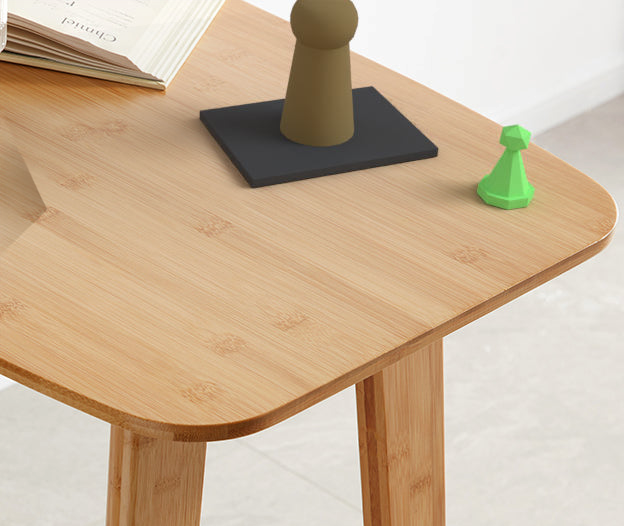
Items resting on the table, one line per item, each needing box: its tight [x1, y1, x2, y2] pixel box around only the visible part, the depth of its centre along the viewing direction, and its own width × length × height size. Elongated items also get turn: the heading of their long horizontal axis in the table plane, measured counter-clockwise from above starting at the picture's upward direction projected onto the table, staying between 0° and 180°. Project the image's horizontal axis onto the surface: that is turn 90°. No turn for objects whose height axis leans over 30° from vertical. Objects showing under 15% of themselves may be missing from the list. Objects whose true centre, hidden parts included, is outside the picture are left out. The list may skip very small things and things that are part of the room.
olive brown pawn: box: [280, 0, 359, 147], centre depth 89 cm, size 6×6×11 cm
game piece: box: [476, 124, 536, 211], centre depth 85 cm, size 4×4×6 cm
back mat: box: [199, 85, 439, 189], centre depth 92 cm, size 16×12×1 cm
